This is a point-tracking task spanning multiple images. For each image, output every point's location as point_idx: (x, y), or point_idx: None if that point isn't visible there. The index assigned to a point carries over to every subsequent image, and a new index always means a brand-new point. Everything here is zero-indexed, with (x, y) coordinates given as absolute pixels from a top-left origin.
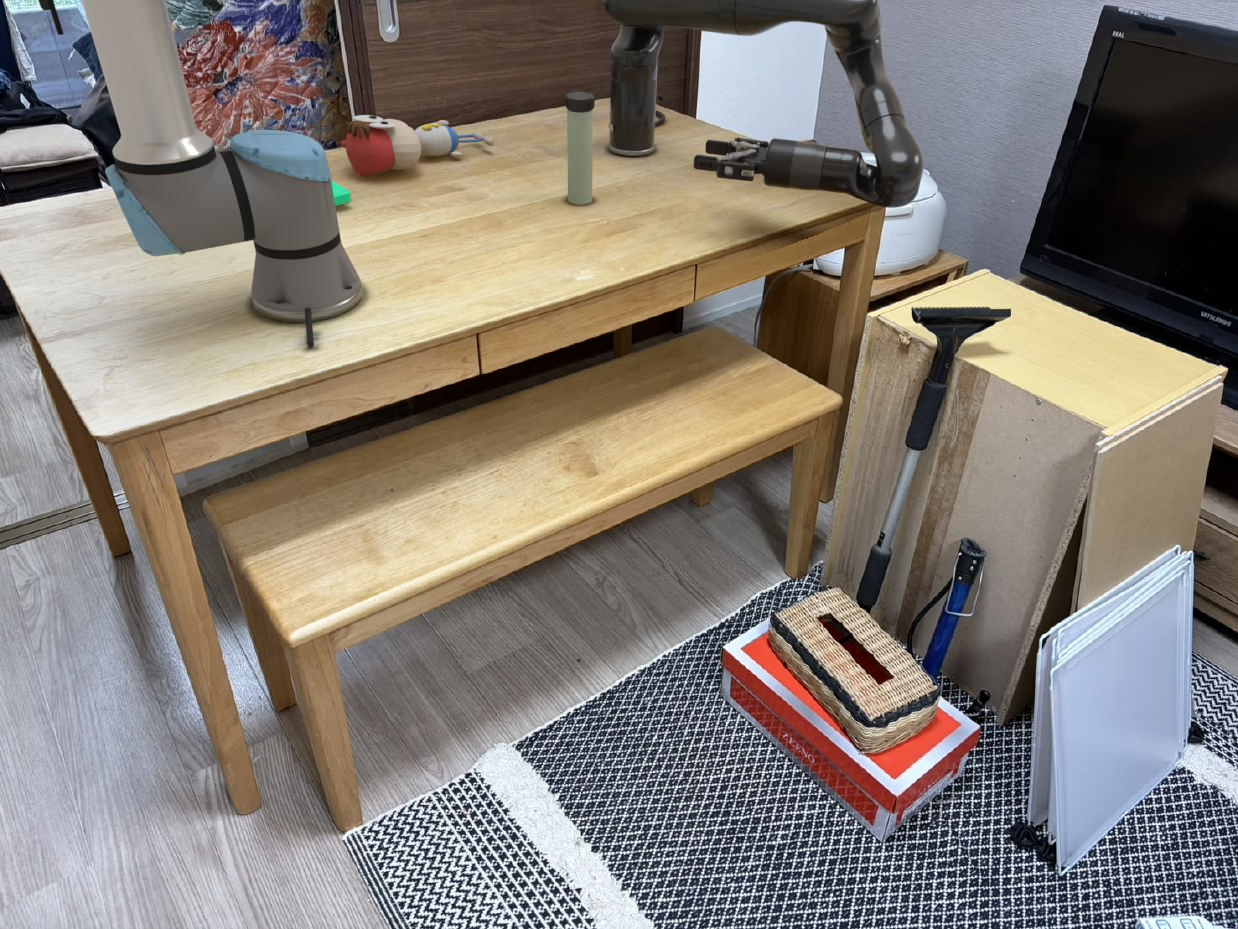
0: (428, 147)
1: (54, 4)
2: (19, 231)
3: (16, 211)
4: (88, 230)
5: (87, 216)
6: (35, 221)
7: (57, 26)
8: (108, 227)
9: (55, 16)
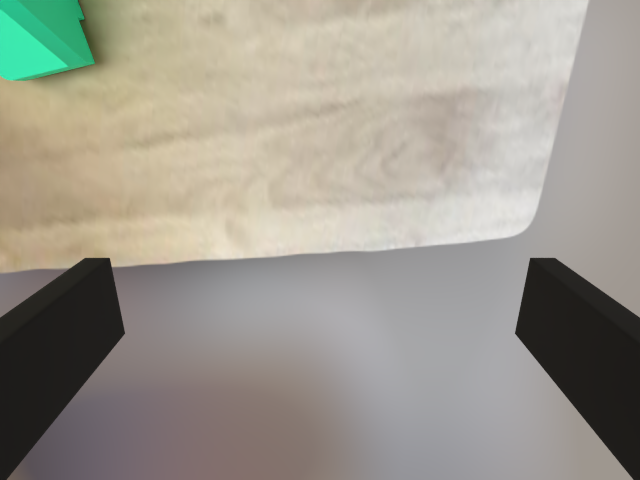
0: None
1: (633, 335)
2: (548, 115)
3: (529, 211)
4: (450, 63)
5: (437, 136)
6: (515, 151)
7: (569, 275)
8: (417, 62)
9: (596, 299)
